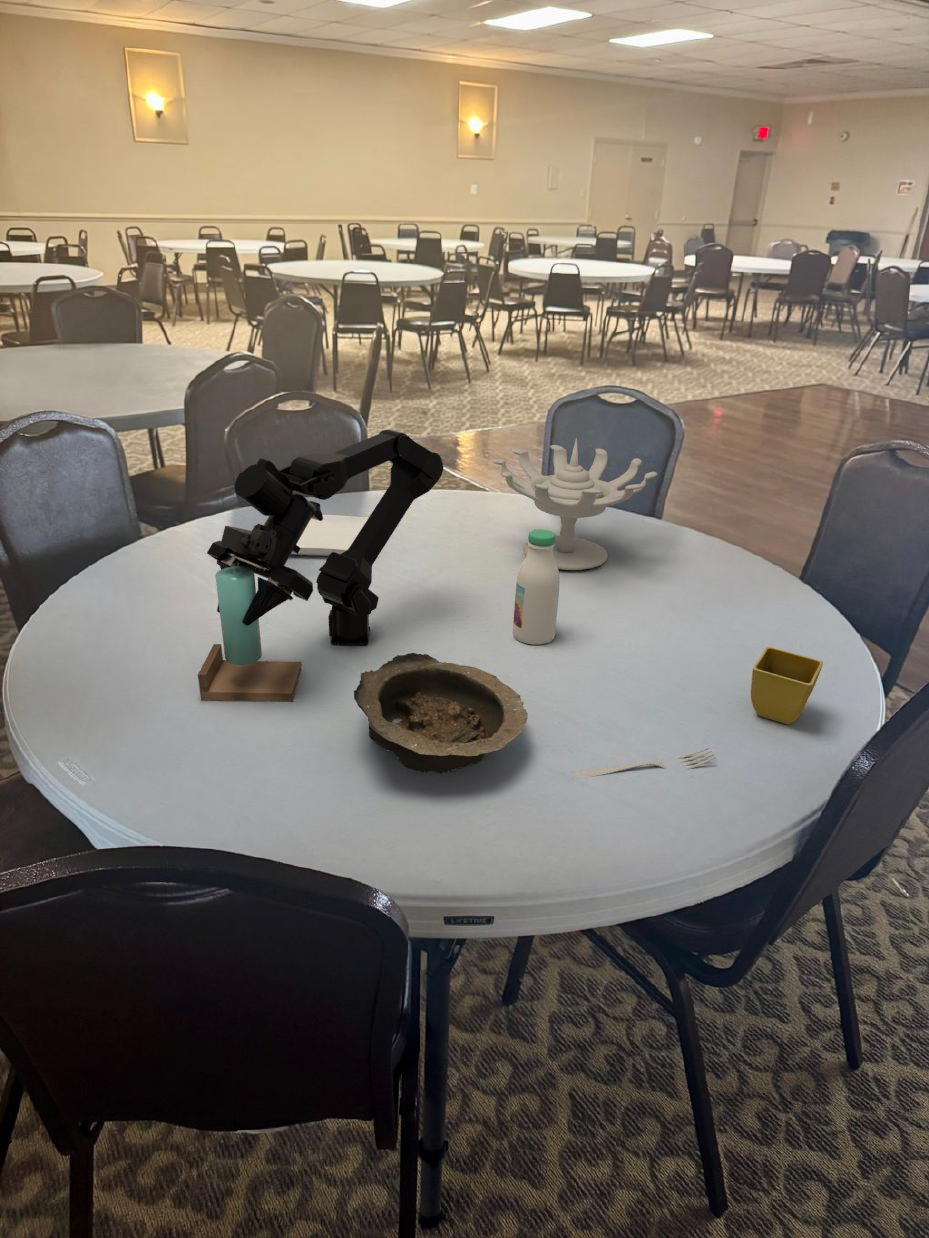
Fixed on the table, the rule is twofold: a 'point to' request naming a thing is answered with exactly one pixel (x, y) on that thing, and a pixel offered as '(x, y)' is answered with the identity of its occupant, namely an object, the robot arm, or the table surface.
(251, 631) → the mint green capsule
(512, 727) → the stone bowl
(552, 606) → the milk bottle
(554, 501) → the candelabra
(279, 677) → the shelf board
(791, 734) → the table surface
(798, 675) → the flower pot
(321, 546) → the salad plate
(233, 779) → the table surface
